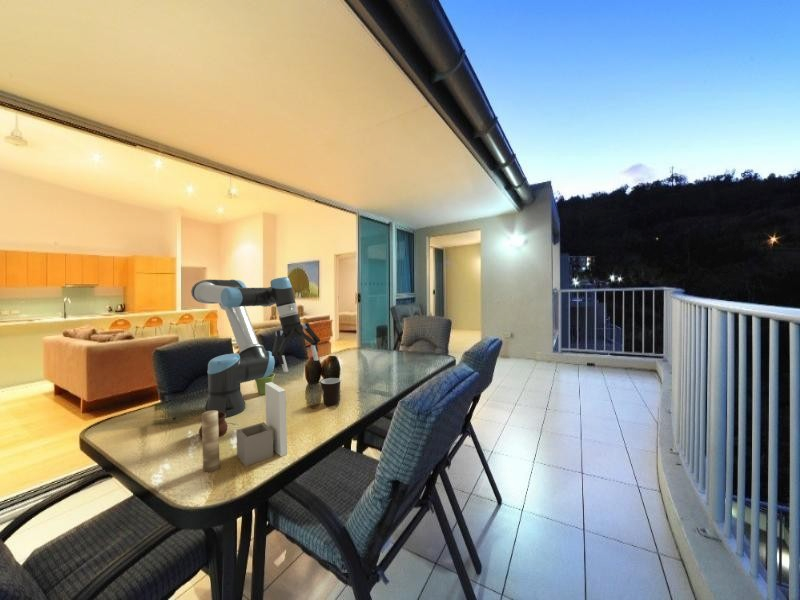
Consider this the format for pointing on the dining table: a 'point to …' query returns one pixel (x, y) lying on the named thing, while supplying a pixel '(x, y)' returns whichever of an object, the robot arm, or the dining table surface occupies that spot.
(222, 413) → the ceramic pot
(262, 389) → the plant pot
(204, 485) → the dining table surface
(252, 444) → the cup bracket
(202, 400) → the dining table surface
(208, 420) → the oak rail
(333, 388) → the coffee mug
